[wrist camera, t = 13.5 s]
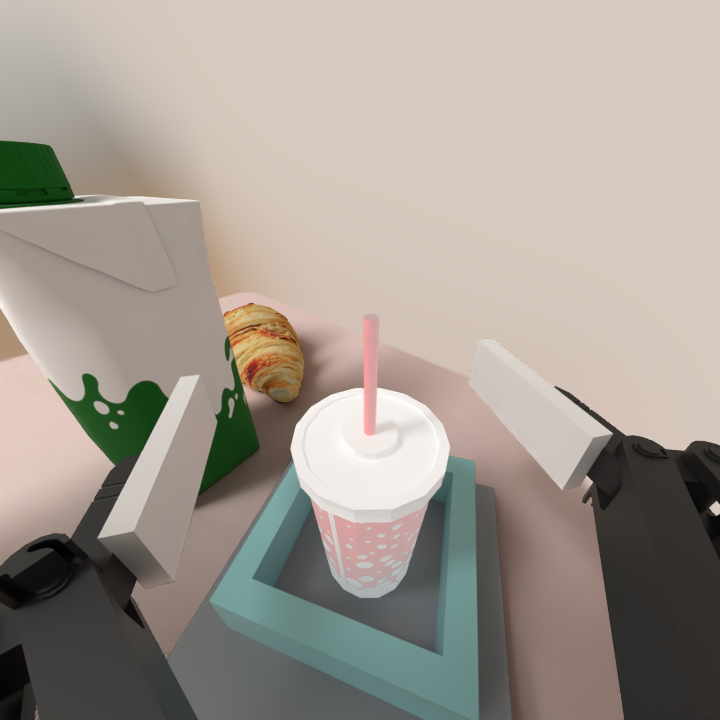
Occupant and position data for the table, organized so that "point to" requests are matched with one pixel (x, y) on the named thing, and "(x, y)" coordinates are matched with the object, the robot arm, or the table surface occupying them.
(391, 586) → the beverage cup
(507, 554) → the table surface
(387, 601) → the dock
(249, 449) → the milk carton
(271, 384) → the croissant
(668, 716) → the robot arm
